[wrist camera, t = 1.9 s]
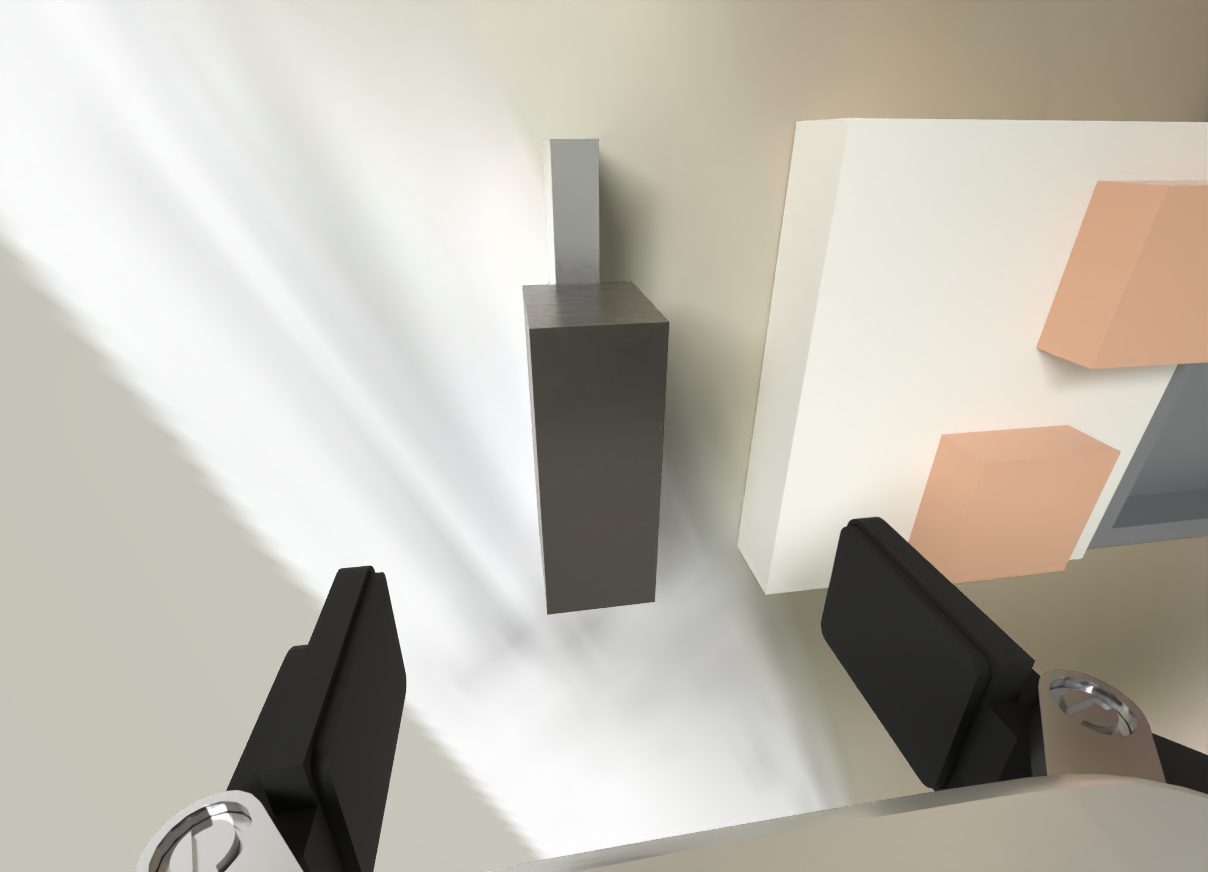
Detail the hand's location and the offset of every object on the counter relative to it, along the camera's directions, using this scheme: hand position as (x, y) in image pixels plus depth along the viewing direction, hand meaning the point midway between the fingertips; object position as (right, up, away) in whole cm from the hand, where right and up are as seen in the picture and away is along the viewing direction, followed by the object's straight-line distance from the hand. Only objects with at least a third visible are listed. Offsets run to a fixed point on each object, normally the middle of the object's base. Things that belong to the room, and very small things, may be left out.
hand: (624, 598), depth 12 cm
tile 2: (+16, +9, +6) cm, 19 cm away
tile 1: (+14, +1, +10) cm, 17 cm away
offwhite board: (+12, +6, +10) cm, 17 cm away
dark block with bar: (-2, +5, +8) cm, 10 cm away
